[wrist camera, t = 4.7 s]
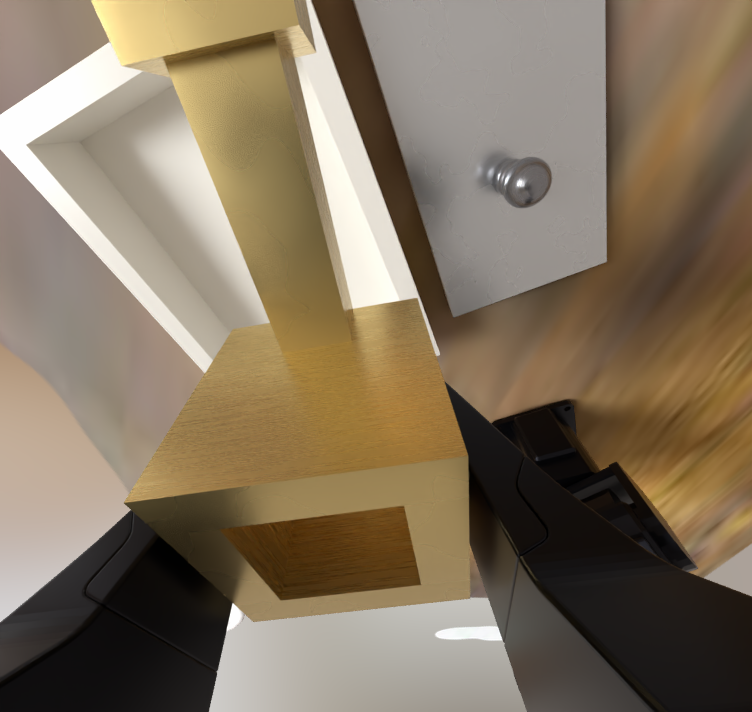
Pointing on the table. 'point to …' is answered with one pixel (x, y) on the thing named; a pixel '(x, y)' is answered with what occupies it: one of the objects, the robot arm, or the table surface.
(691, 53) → the table surface
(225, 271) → the bin
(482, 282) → the stud plate
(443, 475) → the strut
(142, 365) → the table surface
